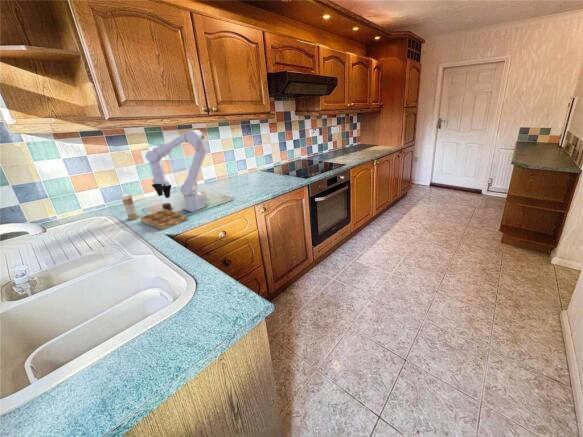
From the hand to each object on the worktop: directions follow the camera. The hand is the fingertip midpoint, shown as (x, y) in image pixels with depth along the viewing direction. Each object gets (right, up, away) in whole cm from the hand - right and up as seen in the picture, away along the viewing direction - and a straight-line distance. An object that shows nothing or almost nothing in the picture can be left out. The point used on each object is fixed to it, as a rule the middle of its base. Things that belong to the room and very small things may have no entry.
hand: (164, 196), depth 146 cm
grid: (+6, -14, -12) cm, 19 cm away
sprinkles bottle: (-14, -13, -6) cm, 20 cm away
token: (0, -8, +3) cm, 8 cm away
